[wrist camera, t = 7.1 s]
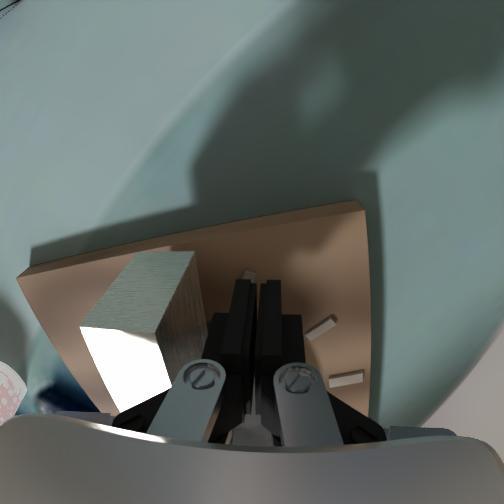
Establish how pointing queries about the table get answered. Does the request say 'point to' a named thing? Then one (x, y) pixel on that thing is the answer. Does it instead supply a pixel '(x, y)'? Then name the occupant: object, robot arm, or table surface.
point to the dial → (155, 333)
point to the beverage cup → (10, 392)
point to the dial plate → (222, 286)
